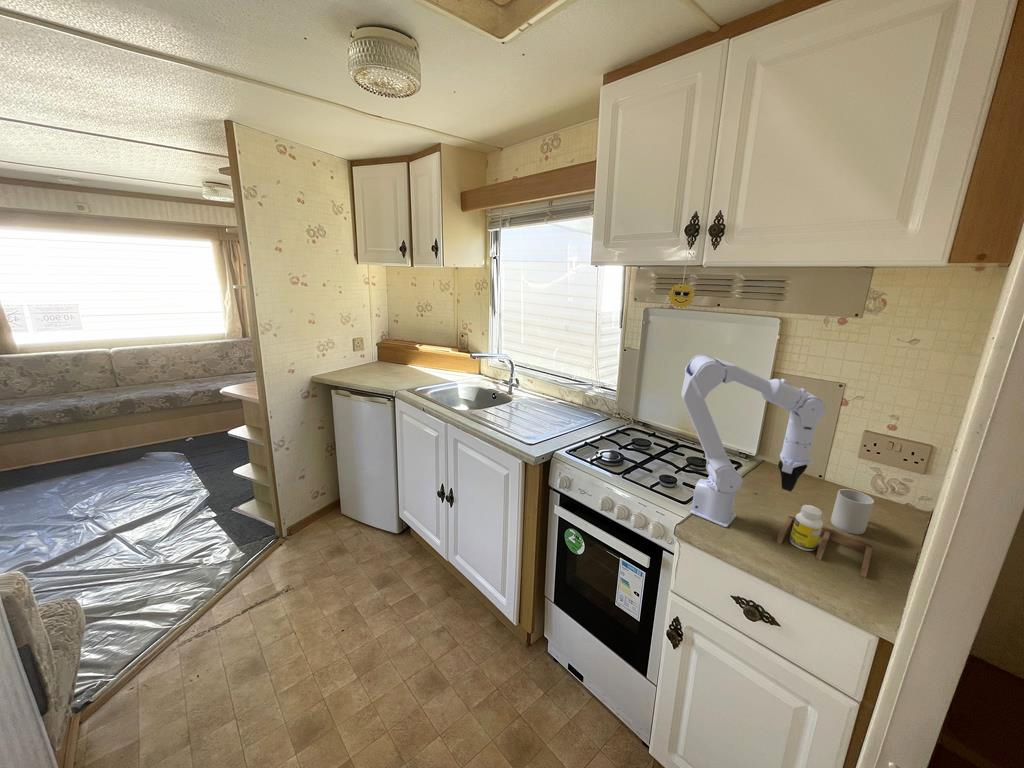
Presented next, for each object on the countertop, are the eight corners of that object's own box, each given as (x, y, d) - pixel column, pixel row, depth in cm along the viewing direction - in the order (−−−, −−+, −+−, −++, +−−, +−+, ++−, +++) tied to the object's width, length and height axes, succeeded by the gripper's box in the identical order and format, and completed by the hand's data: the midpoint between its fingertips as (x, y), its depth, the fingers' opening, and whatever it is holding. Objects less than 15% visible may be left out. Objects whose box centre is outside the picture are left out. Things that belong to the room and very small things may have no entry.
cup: (828, 526, 109) (837, 496, 107) (832, 511, 116) (840, 482, 114) (864, 538, 105) (873, 507, 102) (865, 521, 112) (874, 492, 109)
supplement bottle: (783, 538, 103) (793, 503, 101) (802, 536, 104) (812, 502, 102) (802, 552, 98) (812, 516, 96) (821, 551, 99) (832, 515, 97)
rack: (776, 542, 102) (778, 533, 101) (787, 522, 110) (789, 514, 110) (865, 577, 91) (868, 568, 90) (870, 552, 99) (873, 543, 98)
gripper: (812, 453, 96) (799, 506, 100) (822, 437, 106) (811, 485, 110) (777, 444, 101) (766, 494, 104) (790, 429, 111) (780, 475, 114)
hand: (787, 489), depth 107 cm, fingers closed
